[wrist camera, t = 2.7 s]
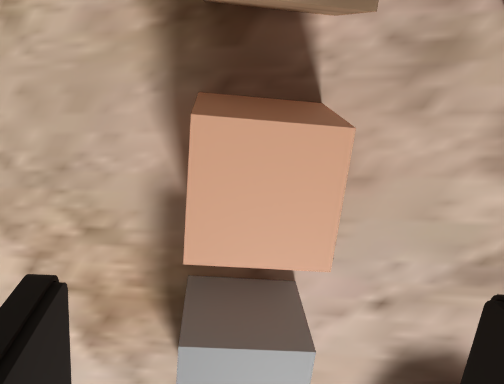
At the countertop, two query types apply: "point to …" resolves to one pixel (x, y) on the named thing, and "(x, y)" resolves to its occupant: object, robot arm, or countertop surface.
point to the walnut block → (310, 5)
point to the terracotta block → (265, 183)
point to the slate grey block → (244, 333)
